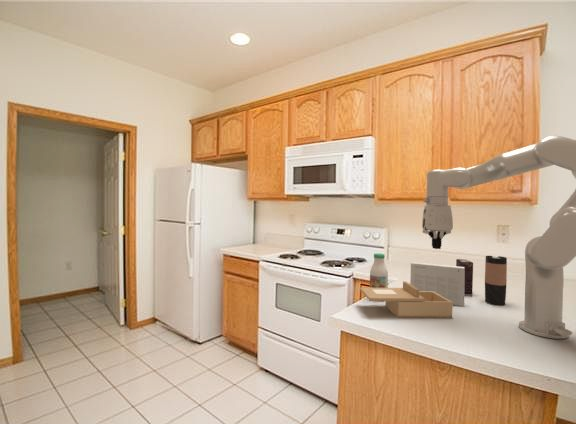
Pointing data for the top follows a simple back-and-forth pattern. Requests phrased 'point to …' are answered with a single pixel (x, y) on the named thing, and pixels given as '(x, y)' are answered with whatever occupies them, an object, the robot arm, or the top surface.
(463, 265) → the supplement box
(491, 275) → the travel mug
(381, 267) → the milk bottle
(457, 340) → the top surface
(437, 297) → the mailer box
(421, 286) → the skincare box
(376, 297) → the lid
